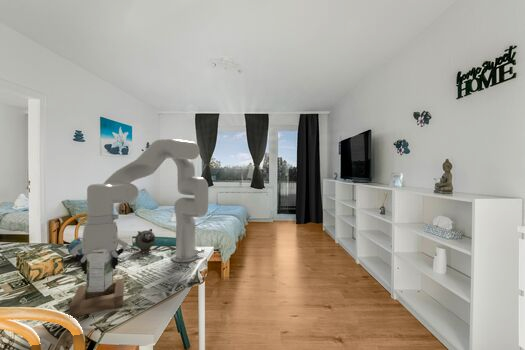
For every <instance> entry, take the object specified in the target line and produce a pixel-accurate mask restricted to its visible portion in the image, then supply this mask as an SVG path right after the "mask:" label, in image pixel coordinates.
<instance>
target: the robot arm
mask: <svg viewBox="0 0 525 350" xmlns="http://www.w3.org/2000/svg"><path fill="white" fill-rule="evenodd" d="M200 153H201V152H200V147H199V145H198V144H197V143H196V142H195V141H190V140H189V141H188V140H183V139H176V138H165V139H163V138H162V139H156V140H155V141H152V143H151V144H150V145H149V146H148V147H147V148H146V149H145V150H144V151H143V152H142V153H141V154H140V155H139V156H138V157H137V158H136V159H135V160H133V161H132V162H129V163H127V164H126V165H125V166H123V167H121V168H119V169H117V170H116V171H114V173H112V174H111V175H110V176H109V177H108V178H107V179H106V180H105V181H104V182H103V183H94V184H89V185H88V186H87V189H86V193H87V194H86V207H87V208H86V223H85V224H84V227H83V233H82V237H81V238H82V243H81V244H79V245H78V246H76V247H75V248H74V249H72V250H71V251H70V253H71V254H72V255H71V254H70V253H69V254H70V255H71V256H73V257H74V258H75V259H76V260H78V261H79V262H81V272H83V275H87V255H88V254H91V252H92V251H93V250H94V249H108V252H111V253H112V254H113V270H116V267H118V266H119V256H121V255H122V254H123V252H124V251H126V249H127V247H128V246H129V243H128V242H126V241H124V240H122V239H120V238H119V234H118V233H119V232H118V224H117V221H115V220H118V219H119V215H118V214H114V213H115V212H114V204H128V203H131V202H134V201H135V200H136V199H137V198H138V197H139V194H140V193H139V189H138V187H137V186H136V185H135V184H133V182H134V181H136V180H139V179H140V180H141V179H142V178H146V177H148V176H150V175H151V176H152V175H153V174H154V173H155V172H156V171H157V170H158V169H159V167H160V166H161V165H162V164H163V163H164V161H166V160H167V159H171V160H172V161H173V162H174V163H175V165H176V168H177V170H176V172H177V191H178V193H179V194H181V195H184V197H180V198H178V199H176V200H175V202H174V206H173V209H174V215H175V254H174V255H173V256H172V261H174V262H176V263H190V262H193V261H196V260H197V259H198V258H199V254H202V253H203V254H204V253H205V248H199V247H198V248H196V220H195V218H203V217H205V216H206V215H207V214H208V210H209V184H208V181H207V180H206V179H205V178H204V177H202V176H196V171H195V164H194V162H193V160H195V159H197V158H198V157H199V155H200ZM185 196H189V197H185ZM190 196H193V197H190ZM118 245H120V246H121V247H120V248H119V249H118ZM81 248H82V253H83V254H84V256H83V255H81V254H80V253H78V252H77V251H78V250H79V249H81Z"/></svg>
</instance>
